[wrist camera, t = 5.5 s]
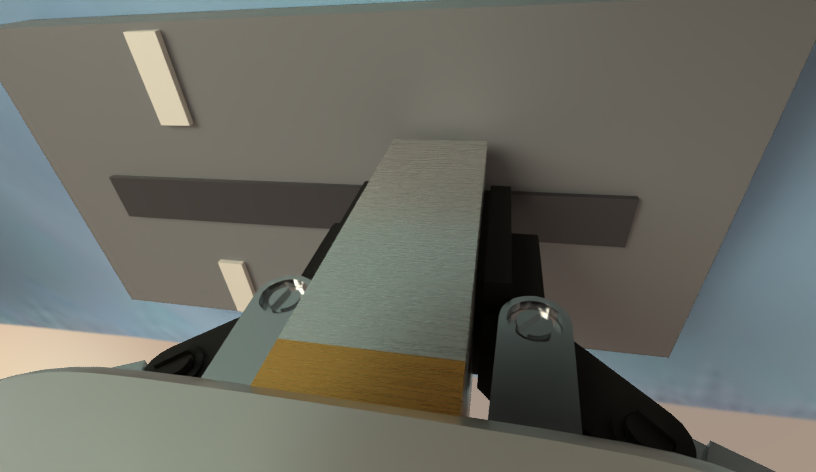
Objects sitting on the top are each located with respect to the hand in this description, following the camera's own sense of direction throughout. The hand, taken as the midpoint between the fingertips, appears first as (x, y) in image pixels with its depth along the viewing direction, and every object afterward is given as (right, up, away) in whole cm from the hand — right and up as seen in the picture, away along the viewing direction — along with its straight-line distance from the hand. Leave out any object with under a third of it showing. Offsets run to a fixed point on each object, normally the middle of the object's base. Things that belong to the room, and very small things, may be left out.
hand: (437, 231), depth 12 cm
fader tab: (0, 0, +1) cm, 1 cm away
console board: (-2, +2, +3) cm, 4 cm away
